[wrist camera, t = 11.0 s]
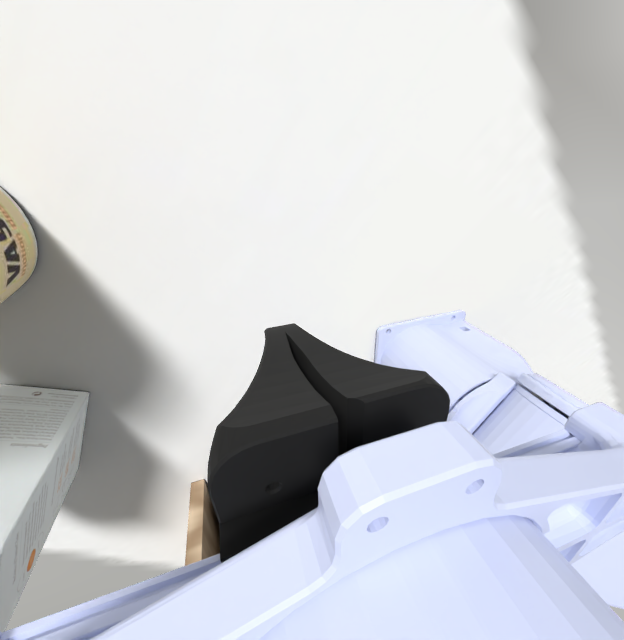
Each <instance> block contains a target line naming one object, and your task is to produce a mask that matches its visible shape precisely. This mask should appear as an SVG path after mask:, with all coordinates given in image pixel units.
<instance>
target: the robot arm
mask: <svg viewBox="0 0 624 640" xmlns="http://www.w3.org/2000/svg"><path fill="white" fill-rule="evenodd" d="M465 316H466V313H465V312H464V311H462V310H458V311H453V312H449V313H444V314H439V315H434V316H429V317H424V318H419V319H414V320H409V321H405V322H400V323H395V324H390V325H385V326H381V327H379V328H378V330H377V335H376V350H375V363H373V362H370V361H366V360H363V359H360V358H357V357H354V356H351V355H349V354H347V353H344V352H342V351H339V350H337V349H335V348H333V347H331V346H329V345H327V344H326V343H324V342H322V341H320V340H319V339H317V338H315V337H314V336H312V335H311V334H309V333H308V332H306V331H305V330H303V329H302V328H300V327H299V326H297V325H296V324H288V325H283V326H277V327H272V328H267V329H266V330H265V331H264V332H265V338H266V339H265V347H264V352H263V356H262V359H261V362H260V365H259V368H258V370H257V372H256V375H255V377H254V379H253V381H252V383H251V384H250V386H249V388H248V390H247V391H246V393H245V394H244V396H243V397H242V399H241V400H240V401H239V403H238V404H237V405H236V407H235V408H234V409H233V410H232V412H231V413H230V414H229V415H228V416H227V417H226V418H225V419H224V420H223V421H222V422H221V423H220V424H219V425H218V426H217V428H216V432H215V435H214V438H213V442H212V446H211V451H210V456H209V462H208V492H209V496H210V499H211V502H212V505H213V507H214V510H215V513H216V515H217V518H218V521H219V527H220V554H217V555H214V556H211V557H209V558H206V559H203V560H200V561H198V562H195V563H192V564H189V565H186V566H184V567H181V568H178V569H175V570H173V571H170V572H168V573H164V574H162V575H159V576H157V577H153V578H151V579H148V580H145V581H143V582H140V583H137V584H134V585H132V586H129V587H126V588H123V589H120V590H118V591H115V592H112V593H109V594H107V595H104V596H101V597H98V598H96V599H93V600H90V601H87V602H85V603H82V604H79V605H76V606H73V607H71V608H68V609H65V610H62V611H60V612H57V613H54V614H51V615H49V616H46V617H43V618H40V619H38V620H35V621H32V622H29V623H27V624H24V625H21V626H18V627H16V628H13V629H10V630H7V631H4V632H1V631H0V640H624V622H623V621H622V620H621V619H620V618H619V616H618V615H617V614H616V613H615V612H614V611H613V610H612V609H611V608H610V607H609V606H613V607H617V608H621V609H624V415H623V414H621V413H620V412H618V411H616V410H614V409H613V408H611V407H609V406H608V405H606V404H604V403H602V402H597V403H594V404H592V405H588V404H586V403H585V402H583V401H582V400H580V399H578V398H577V397H575V396H573V395H572V394H570V393H569V392H567V391H565V390H564V389H562V388H560V387H559V386H557V385H556V384H554V383H552V382H551V381H549V380H547V379H546V378H544V377H542V376H541V375H539V374H537V373H533V371H532V370H531V368H530V366H529V365H528V363H527V362H526V360H525V359H524V358H523V357H522V356H521V355H520V354H519V353H518V352H516V351H515V350H514V349H512V348H510V347H509V346H507V345H505V344H504V343H502V342H500V341H498V340H497V339H495V338H493V337H492V336H490V335H488V334H486V333H485V332H483V331H481V330H480V329H478V328H476V327H474V326H473V325H471V324H469V323H468V322H466V321H464V320H465ZM451 317H452V318H451ZM388 329H389V330H388ZM387 330H388V331H387ZM386 331H387V332H386Z"/></svg>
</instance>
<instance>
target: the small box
mask: <svg viewBox="0 0 624 640" xmlns="http://www.w3.org/2000/svg"><path fill="white" fill-rule="evenodd" d="M88 400H89V392H82V391H70V390H60V389H49V388H37V387H26V386H15V385H4V384H0V631H1V632H4V631H5V630H6V628H7V625H8V623H9V621H10V619H11V617H12V614H13V612H14V610H15V608H16V606H17V604H18V601H19V599H20V597H21V594H22V592H23V590H24V588H25V586H26V583H27V581H28V579H29V577H30V575H31V572H32V570H33V568H34V566H35V564H36V561H37V559H38V557H39V554H40V552H41V550H42V548H43V546H44V543H45V541H46V539H47V537H48V535H49V532H50V530H51V528H52V526H53V523H54V521H55V519H56V517H57V514H58V512H59V510H60V508H61V506H62V504H63V501H64V499H65V497H66V495H67V493H68V490H69V488H70V486H71V484H72V482H73V479H74V477H75V475H76V473H77V470H78V468H79V461H80V454H81V447H82V441H83V433H84V427H85V420H86V413H87V406H88Z"/></svg>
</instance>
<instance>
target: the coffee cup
mask: <svg viewBox="0 0 624 640" xmlns="http://www.w3.org/2000/svg"><path fill="white" fill-rule="evenodd" d="M37 250H38V248H37V241H36V238H35V235H34V231H33V229H32V227H31V224H30V222H29V221H28V219H27V217H26V216H25V214H24V213H23V211H22V210H21V208H20V207H19V206H18V205H17V204H16V202H15V201H14V200H13V199H12V198H11V197H10V196H9V195H8V194H7V193H6V192H5V191H4V190H3V189H2V188H1V187H0V303H2V302H3V301H4V300H6V299H7V298H8V297H9V296H11V295H12V294H13V293H14V292H15V291H17V290H18V289H19V288H20V287H21V286H22V285H23V284H24V283H25V282H26V281H27V280H28V279H29V278H30V276H31V275H32V273H33V271H34V268H35V266H36V262H37V257H38V251H37Z"/></svg>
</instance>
